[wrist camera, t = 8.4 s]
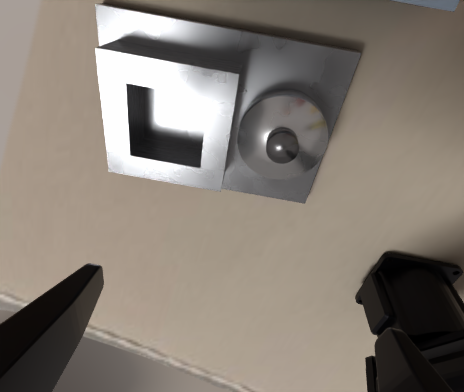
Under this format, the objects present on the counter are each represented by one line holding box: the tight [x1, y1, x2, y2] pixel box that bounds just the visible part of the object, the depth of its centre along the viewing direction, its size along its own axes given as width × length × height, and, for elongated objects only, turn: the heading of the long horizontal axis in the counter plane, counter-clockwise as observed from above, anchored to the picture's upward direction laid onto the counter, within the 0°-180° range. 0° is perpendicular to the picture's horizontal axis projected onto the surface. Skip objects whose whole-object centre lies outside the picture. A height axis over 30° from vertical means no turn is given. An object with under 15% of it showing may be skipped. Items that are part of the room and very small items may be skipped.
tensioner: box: [95, 3, 361, 203], centre depth 18 cm, size 14×10×3 cm
